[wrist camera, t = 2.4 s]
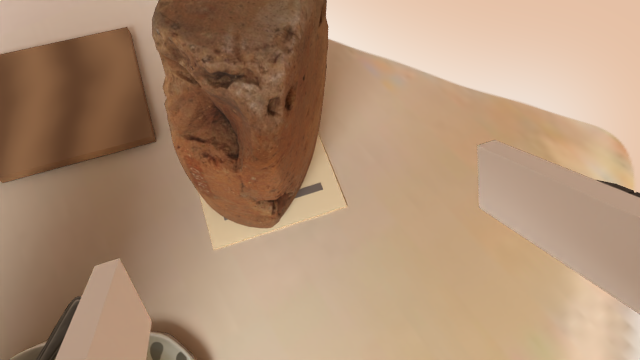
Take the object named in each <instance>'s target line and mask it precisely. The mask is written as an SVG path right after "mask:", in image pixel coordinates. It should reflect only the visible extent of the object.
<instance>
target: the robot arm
mask: <svg viewBox="0 0 640 360" xmlns="http://www.w3.org/2000/svg"><path fill="white" fill-rule="evenodd" d="M477 154H478V188H479V208H480V209H482V210H483V211H485V212H486V213H488V214H489V215H491V216H492V217H494V218H495V219H497V220H498V221H500V222H501V223H503V224H504V225H506V226H507V227H509V228H510V229H512V230H513V231H515V232H516V233H518V234H519V235H521V236H522V237H524V238H525V239H527V240H528V241H530V242H531V243H533V244H534V245H536V246H537V247H539V248H540V249H542V250H543V251H545V252H546V253H548V254H549V255H551V256H552V257H554V258H556V259H557V260H559V261H560V262H562V263H563V264H565V265H566V266H568V267H569V268H571V269H572V270H574V271H575V272H577V273H578V274H580V275H581V276H583V277H584V278H586V279H587V280H589V281H590V282H592V283H593V284H595V285H596V286H598V287H599V288H601V289H602V290H604V291H605V292H607V293H608V294H610V295H611V296H613V297H614V298H616V299H617V300H619V301H620V302H622V303H623V304H625V305H626V306H628V307H629V308H631V309H632V310H634V311H635V312H637V313H638V314H640V193H638V192H636V193H634V191H633V190H630V189H628V188H625V187H623V186H620V185H618V184H614V183H609V182H604V181H599V180H594V179H592V178H589V177H587V176H584V175H582V174H579V173H577V172H574V171H572V170H569V169H567V168H564V167H562V166H559V165H557V164H554V163H552V162H549V161H547V160H544V159H542V158H539V157H536V156H534V155H531V154H529V153H526V152H524V151H521V150H519V149H516V148H514V147H511V146H509V145H506V144H504V143H501V142H499V141H496V140H493V141H489V142H486V143H483V144H480V145H477ZM151 324H152V321H151V319H150V317H149V315H148V313H147V311H146V309H145V307H144V305H143V303H142V301H141V299H140V297H139V295H138V293H137V291H136V289H135V287H134V285H133V283H132V281H131V279H130V277H129V275H128V273H127V271H126V270H125V268H124V266H123V264H122V262H121V260H120V258H118V259H115V260H111V261H108V262H105V263H102V264H99V265H96V266H94V268H93V271H92V273H91V276H90V278H89V280H88V283H87V285H86V287H85V290H84V292H83V295H82V297H81V299H80V302H79V304H78V306H77V309H76V311H75V313H74V316H73V318H72V321H71V323H70V325H69V328H68V330H67V332H66V335H65V337H64V340H63V342H62V344H61V347H60V349H59V351H58V354H57V356H56V359H55V360H146V357H147V350H148V343H149V337H150V330H151Z"/></svg>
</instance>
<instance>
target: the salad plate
mask: <svg viewBox="0 0 640 360" xmlns="http://www.w3.org/2000/svg"><path fill="white" fill-rule="evenodd" d="M80 299H81V297H76V298H75V299H74V300H72V301H71V303H70V304H69V305H68V307H67V308H66V310H65V311H64V313H63V315H62V316H61V318H60V319H59V321H58V323H57V325H56V326H55V328H54V330H53V332H52V333H51V335H50V337H49V339H48V340H47V341H45V342H42V343H40V344H38V345H36V346H34V347H31V348H29V349H26V350H25V351H23V352H20V353H19V354H17V355H15V356H14V357H12V358H11V359H9V360H55V359H56V356H57V354H58V351H59V349H60V347H61V344H62V342H63V340H64V337H65V335H66V332H67V330H68V328H69V325H70V323H71V321H72V318H73V316H74V313H75V311H76V309H77V306H78V304H79V302H80ZM146 360H195V358H194V356H193V354H192V353H191V352H189V351H188V350H187V349H186V348H185V347H184V346H183V345H182V344H181V343H180V342H179V341H177V340H176V339H175V338H174V337H173V336H172V335H170V334H168V333H162V332H156V331H155V332H150V337H149V343H148V350H147V357H146Z"/></svg>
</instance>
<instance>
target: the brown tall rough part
mask: <svg viewBox="0 0 640 360" xmlns="http://www.w3.org/2000/svg"><path fill="white" fill-rule="evenodd" d="M326 3H327V1H326V0H159V1H158V4H157V6H156V8H155V12H154V15H153V19H152V36H153V38H154V41H155V44H156V48H157V50H158V52H159V54H160V57H161V60H162V64H163V67H164V71H165V75H166V77H165V81H164V85H163V89H164V93H165V95H166V97H167V99H166V102H165V107H166V111H167V117H168V122H169V126H170V131H171V136H172V140H173V144H174V147H175V150H176V153H177V156H178V158H179V160H180V163H181V165H182V166H183V168H184V170H185V172H186V174H187V176H188V177H189V179H190V180H191V181H192V183H193V184H194V186H195V188H196V189H197V191H198V192H199V193H200V195H201V196H202V198H203V199H204V200H205V201H206V203H207V204H208V205H209V206H210V207H211V208H212V209H213V210H214V211H216V212H217V213H218V214H220V215H221V216H223V217H225V218H227V219H229V220H230V221H233V222H235V223H237V224H241V225H244V226H248V227H255V228H272V227H273V226H274V225H276V224H277V223H278V222H279V221H280V219H281V217H282V216H283V215H284V213H285V212H286V211H287V209H288V208H289V206H290V205H291V203H292V202H293V200H294V198H295V197H296V195H297V193H298V191H299V189H300V187H301V185H302V183H303V181H304V179H305V177H306V174H307V171H308V169H309V166H310V163H311V160H312V157H313V154H314V150H315V146H316V141H317V136H318V131H319V124H320V118H321V111H322V103H323V96H324V86H325V75H326V68H327V65H326V59H327V50H328V24H327V20H326Z"/></svg>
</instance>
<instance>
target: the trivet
mask: <svg viewBox="0 0 640 360" xmlns="http://www.w3.org/2000/svg"><path fill="white" fill-rule="evenodd" d="M152 142H156V139H155V135H154V131H153V126H152V122H151V118H150V113H149V109H148V105H147V101H146V96H145V92H144V88H143V84H142V79H141V75H140V71H139V66H138V62H137V58H136V54H135V49H134V45H133V41H132V36H131V33H130V31H129V30H128V28H127V27H125V28H121V29H116V30H111V31H107V32H102V33H98V34H93V35H88V36H84V37H79V38H75V39H70V40H65V41H61V42H56V43H51V44H47V45H42V46H38V47H33V48H28V49H24V50H19V51H14V52H10V53H5V54H1V55H0V181H1V182H2V183H4V182H8V181H12V180H15V179H19V178H23V177H26V176H30V175H34V174H37V173H41V172H45V171H49V170H52V169H56V168H60V167H63V166H67V165H71V164H74V163H78V162H82V161H85V160H89V159H93V158H97V157H100V156H104V155H108V154H111V153H115V152H119V151H122V150H126V149H130V148H134V147H137V146H141V145H145V144H148V143H152Z"/></svg>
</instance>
